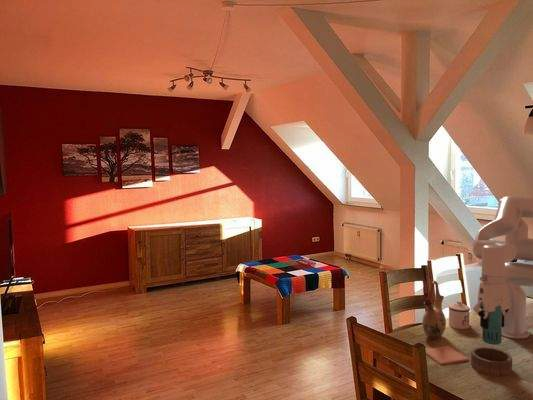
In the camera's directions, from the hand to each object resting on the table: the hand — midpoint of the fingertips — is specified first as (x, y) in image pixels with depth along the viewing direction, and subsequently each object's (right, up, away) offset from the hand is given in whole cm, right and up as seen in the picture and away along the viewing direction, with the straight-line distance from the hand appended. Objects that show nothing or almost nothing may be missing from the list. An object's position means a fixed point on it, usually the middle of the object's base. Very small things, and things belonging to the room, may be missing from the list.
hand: (492, 326), depth 158 cm
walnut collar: (0, -15, +1) cm, 15 cm away
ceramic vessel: (-10, -14, +29) cm, 34 cm away
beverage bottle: (0, -7, +1) cm, 7 cm away
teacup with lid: (+7, -12, +43) cm, 45 cm away
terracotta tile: (-13, -15, +11) cm, 22 cm away
